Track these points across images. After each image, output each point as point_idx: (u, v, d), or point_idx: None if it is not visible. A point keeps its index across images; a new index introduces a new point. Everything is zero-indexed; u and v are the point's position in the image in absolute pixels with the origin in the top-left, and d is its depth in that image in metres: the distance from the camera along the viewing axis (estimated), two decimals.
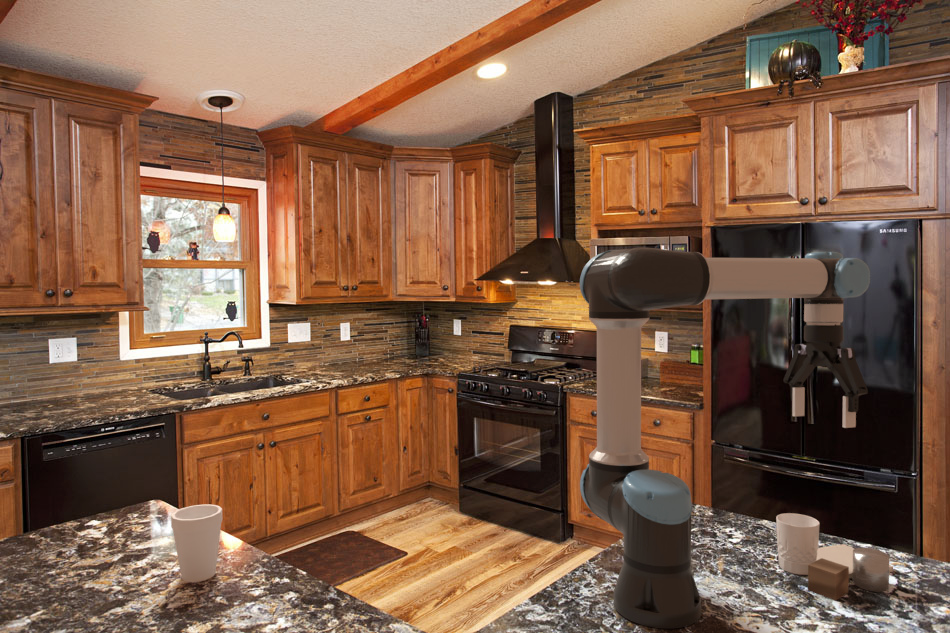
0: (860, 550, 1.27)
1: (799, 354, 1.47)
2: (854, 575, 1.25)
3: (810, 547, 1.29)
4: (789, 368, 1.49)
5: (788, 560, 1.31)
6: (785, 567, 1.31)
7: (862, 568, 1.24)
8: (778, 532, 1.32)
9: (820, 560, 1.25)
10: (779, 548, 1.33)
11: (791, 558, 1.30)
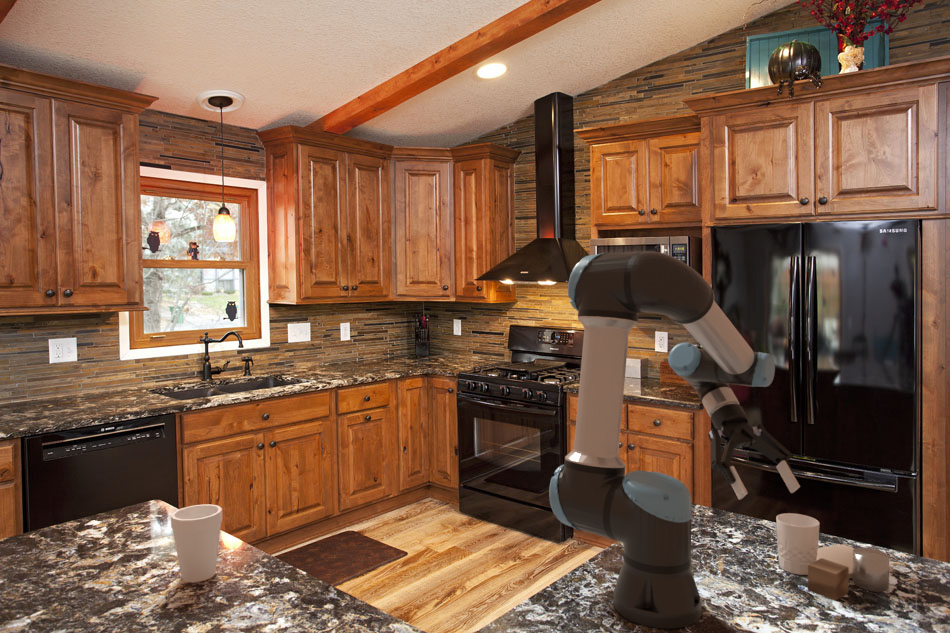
0: (860, 550, 1.27)
1: None
2: (854, 575, 1.25)
3: (810, 547, 1.29)
4: (717, 450, 1.44)
5: (788, 560, 1.31)
6: (785, 567, 1.31)
7: (862, 568, 1.24)
8: (778, 532, 1.32)
9: (820, 560, 1.25)
10: (779, 548, 1.33)
11: (791, 558, 1.30)
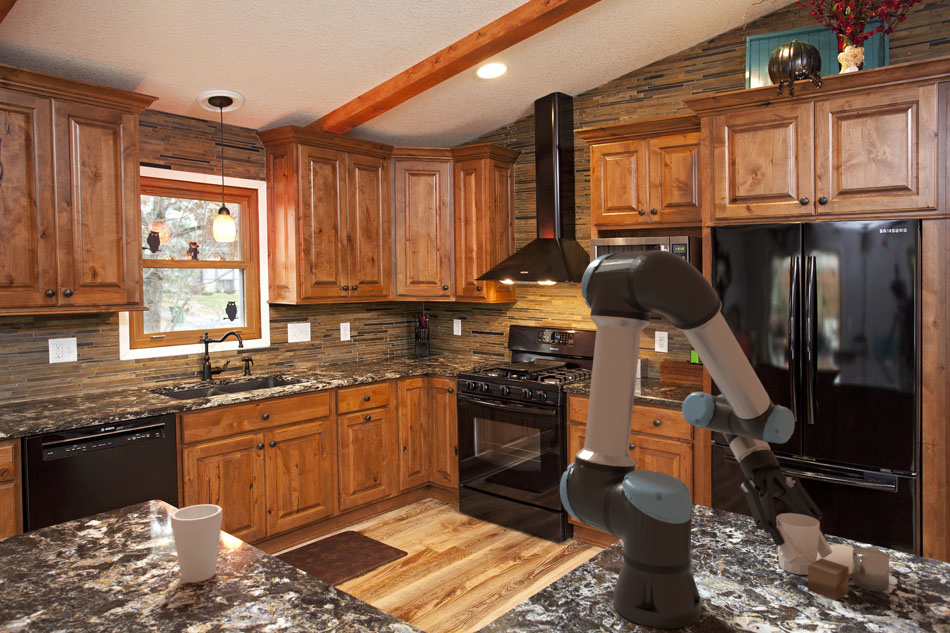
0: (860, 550, 1.27)
1: None
2: (854, 575, 1.25)
3: (811, 547, 1.29)
4: (758, 507, 1.34)
5: None
6: (785, 567, 1.31)
7: (862, 567, 1.24)
8: None
9: (820, 560, 1.25)
10: (779, 548, 1.33)
11: None
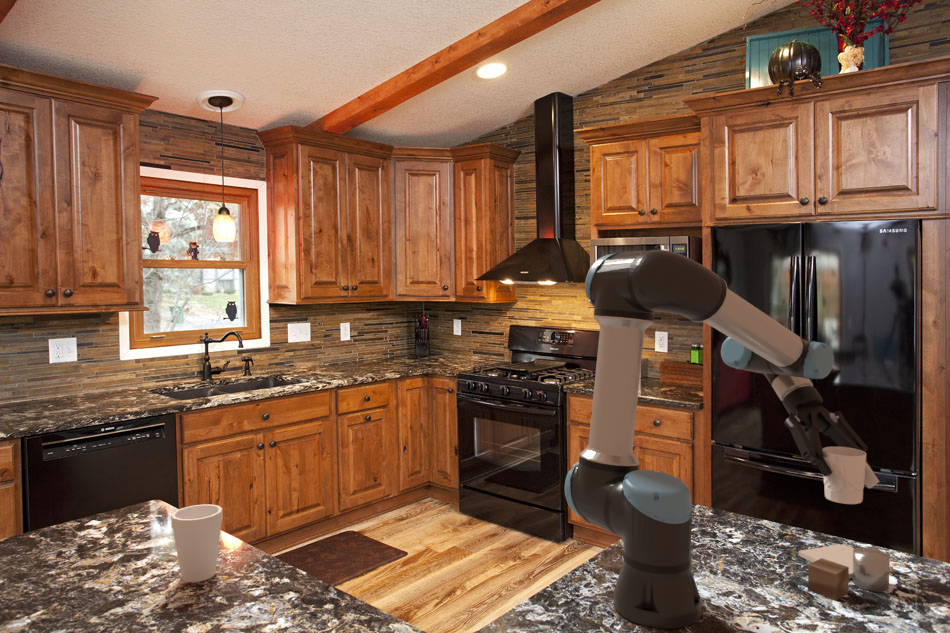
0: (861, 550, 1.27)
1: None
2: (854, 575, 1.25)
3: (858, 476, 1.30)
4: (805, 439, 1.35)
5: None
6: (832, 497, 1.33)
7: (862, 567, 1.24)
8: None
9: (820, 560, 1.25)
10: (826, 479, 1.34)
11: None
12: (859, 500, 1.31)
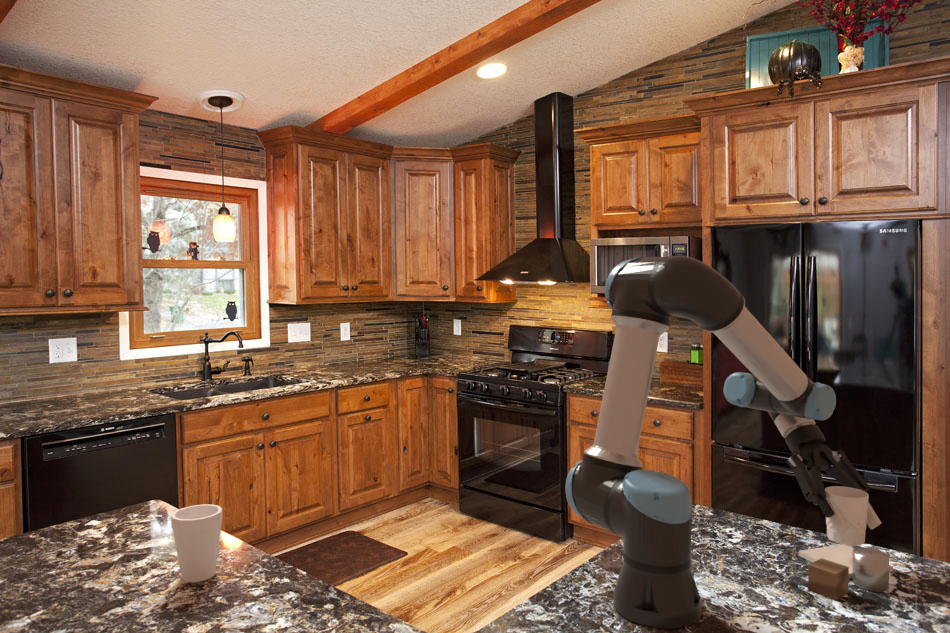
0: (860, 550, 1.27)
1: None
2: (854, 575, 1.25)
3: (860, 518, 1.31)
4: (807, 479, 1.36)
5: None
6: (834, 538, 1.33)
7: (861, 567, 1.24)
8: None
9: (820, 560, 1.25)
10: (828, 520, 1.35)
11: None
12: (861, 541, 1.32)
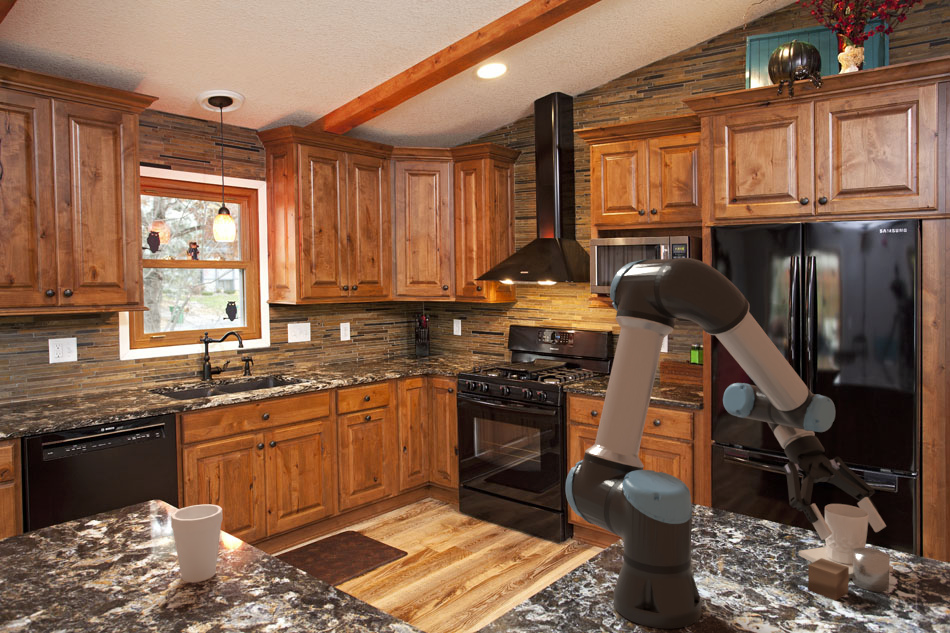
0: (861, 550, 1.27)
1: None
2: (854, 574, 1.25)
3: (860, 538, 1.31)
4: (796, 486, 1.36)
5: (837, 550, 1.33)
6: (833, 556, 1.33)
7: (862, 567, 1.24)
8: (827, 522, 1.34)
9: (820, 560, 1.25)
10: (827, 538, 1.35)
11: (840, 548, 1.32)
12: None
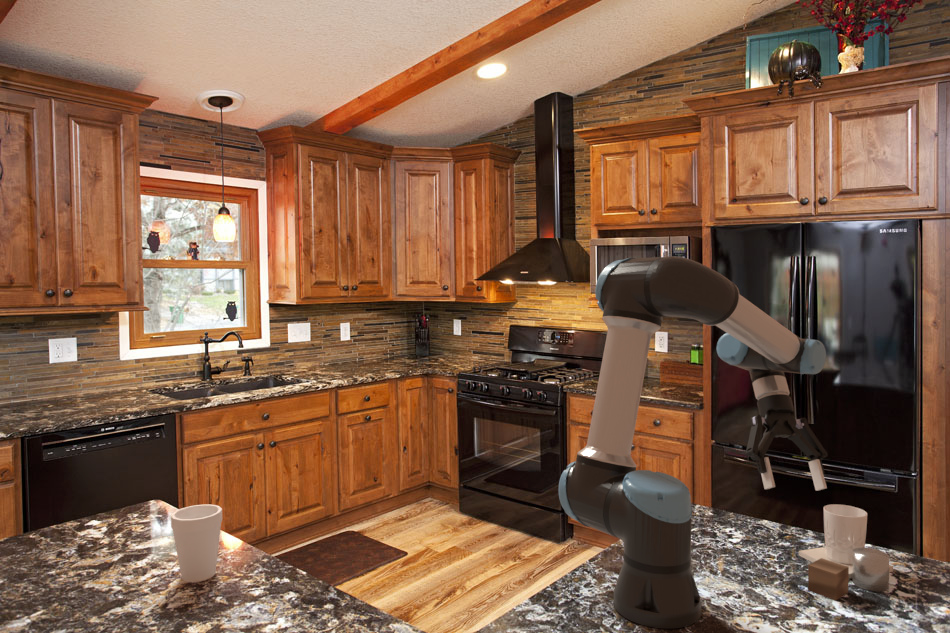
0: (860, 550, 1.27)
1: None
2: (854, 575, 1.26)
3: (859, 537, 1.31)
4: (756, 438, 1.47)
5: (836, 550, 1.33)
6: (833, 556, 1.33)
7: (861, 567, 1.24)
8: (826, 522, 1.35)
9: (820, 560, 1.25)
10: (827, 538, 1.35)
11: (839, 548, 1.32)
12: None
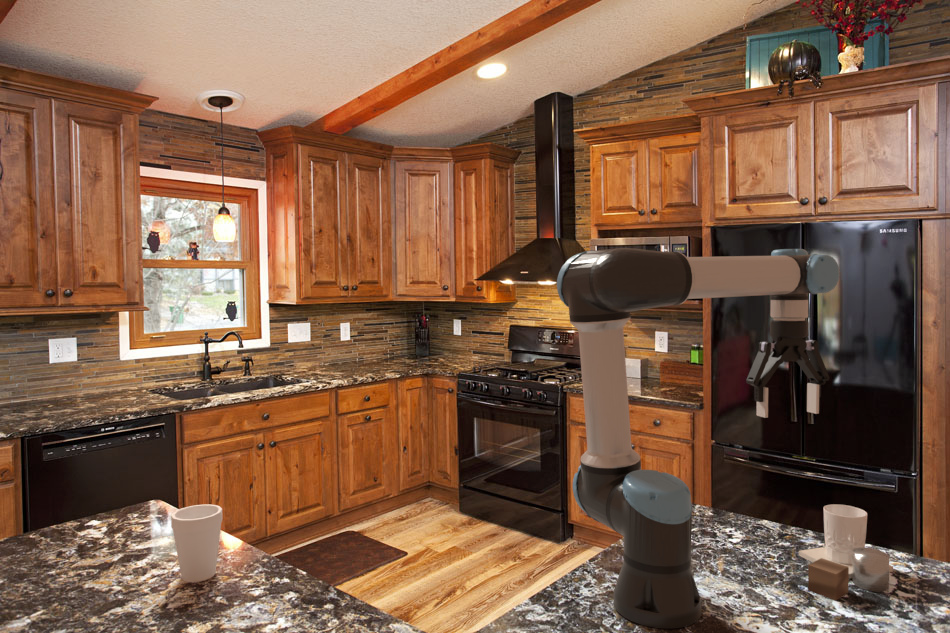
0: (860, 550, 1.27)
1: None
2: (854, 575, 1.26)
3: (859, 537, 1.31)
4: (760, 368, 1.41)
5: (836, 550, 1.33)
6: (833, 557, 1.33)
7: (861, 567, 1.24)
8: (826, 523, 1.35)
9: (820, 560, 1.25)
10: (827, 538, 1.35)
11: (839, 548, 1.32)
12: None
